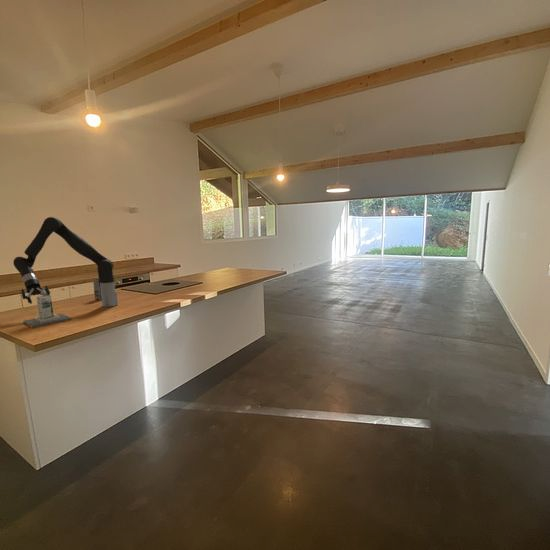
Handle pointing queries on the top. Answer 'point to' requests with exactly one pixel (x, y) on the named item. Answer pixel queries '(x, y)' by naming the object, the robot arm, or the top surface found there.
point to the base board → (46, 320)
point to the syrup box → (45, 307)
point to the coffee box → (97, 289)
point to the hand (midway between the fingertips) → (39, 301)
